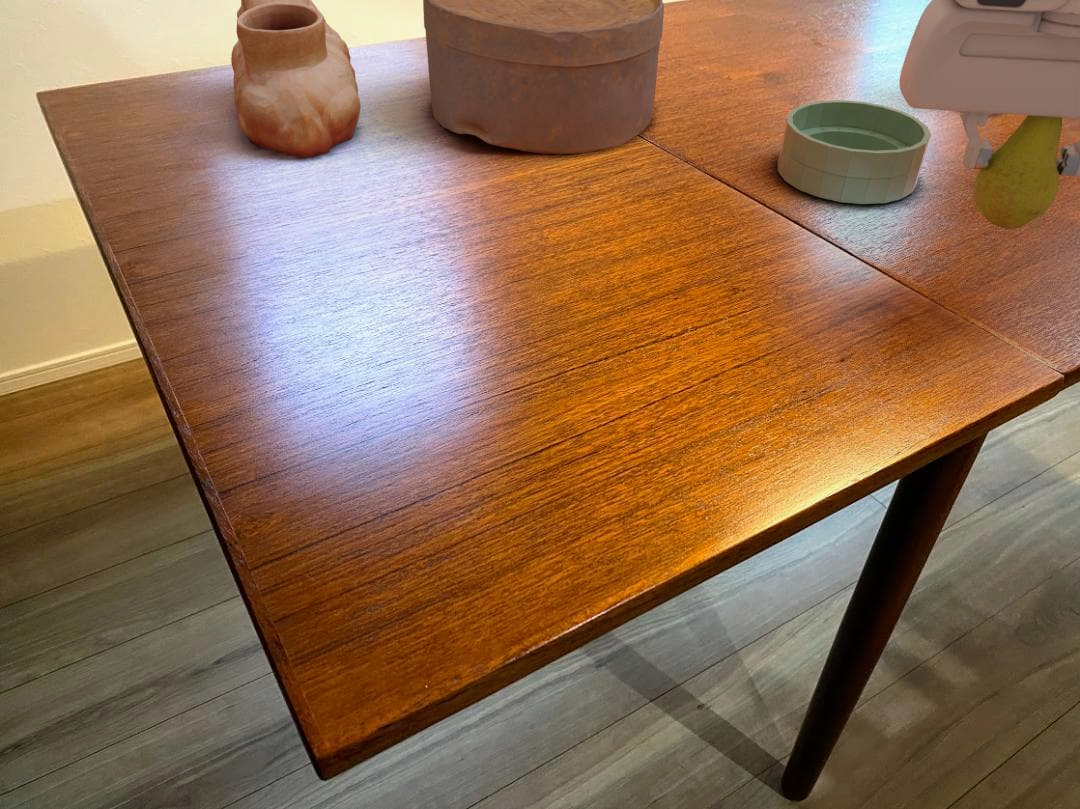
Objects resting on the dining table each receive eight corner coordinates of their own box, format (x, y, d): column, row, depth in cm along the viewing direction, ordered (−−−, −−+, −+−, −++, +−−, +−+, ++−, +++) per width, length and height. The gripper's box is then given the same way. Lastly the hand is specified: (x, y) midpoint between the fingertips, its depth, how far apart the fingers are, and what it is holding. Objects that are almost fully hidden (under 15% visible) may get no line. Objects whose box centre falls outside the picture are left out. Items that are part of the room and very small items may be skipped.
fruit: (951, 226, 70) (1001, 72, 62) (979, 201, 73) (1029, 52, 66) (1026, 249, 67) (1089, 91, 59) (1051, 222, 70) (1113, 69, 63)
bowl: (904, 158, 99) (919, 105, 95) (922, 215, 88) (940, 158, 84) (775, 147, 101) (785, 95, 97) (777, 202, 90) (789, 145, 86)
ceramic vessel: (343, 78, 117) (327, -46, 107) (376, 156, 97) (360, 13, 88) (234, 88, 113) (209, -40, 104) (246, 170, 94) (216, 23, 85)
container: (475, 175, 93) (472, 25, 84) (398, 96, 113) (389, -32, 104) (699, 142, 103) (718, 4, 94) (592, 75, 122) (599, -44, 113)
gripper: (1242, -33, 59) (1153, 162, 68) (924, -45, 62) (878, 144, 71) (1285, -9, 55) (1184, 198, 63) (939, -22, 57) (887, 177, 66)
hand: (1019, 169), depth 67 cm, fingers closed on fruit, 5 cm apart
